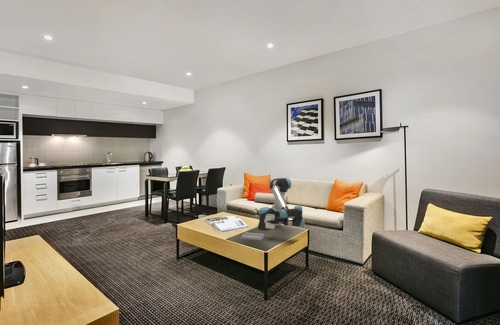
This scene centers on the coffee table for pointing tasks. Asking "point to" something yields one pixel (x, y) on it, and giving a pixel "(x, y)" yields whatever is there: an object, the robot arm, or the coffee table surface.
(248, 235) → the mounting board
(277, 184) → the robot arm
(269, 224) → the module
